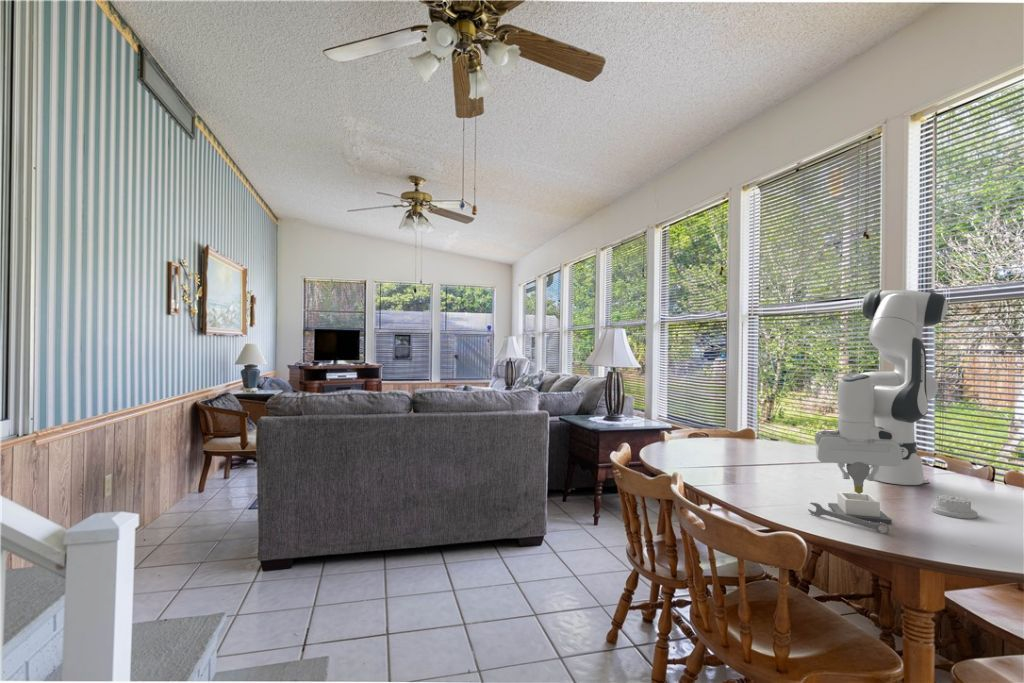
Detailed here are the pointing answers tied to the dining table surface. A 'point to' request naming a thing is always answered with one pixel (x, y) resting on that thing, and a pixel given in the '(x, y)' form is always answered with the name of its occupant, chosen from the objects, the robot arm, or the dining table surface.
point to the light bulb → (858, 474)
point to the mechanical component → (954, 507)
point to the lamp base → (859, 507)
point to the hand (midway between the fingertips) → (858, 479)
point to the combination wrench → (847, 518)
